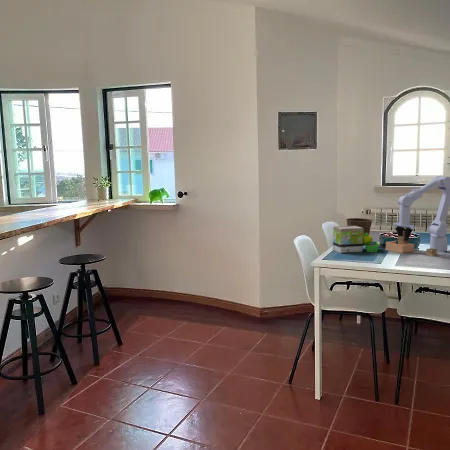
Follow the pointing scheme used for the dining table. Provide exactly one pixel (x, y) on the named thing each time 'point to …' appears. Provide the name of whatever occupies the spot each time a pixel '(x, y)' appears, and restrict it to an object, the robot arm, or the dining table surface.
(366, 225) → the plant pot
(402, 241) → the walnut block
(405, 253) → the slate tray
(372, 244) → the fruit basket
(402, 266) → the dining table surface
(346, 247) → the tea box
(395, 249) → the terracotta box
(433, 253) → the oak block
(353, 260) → the dining table surface
